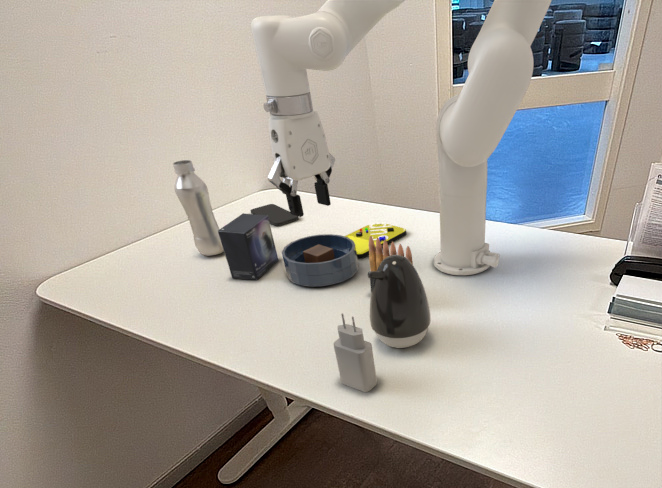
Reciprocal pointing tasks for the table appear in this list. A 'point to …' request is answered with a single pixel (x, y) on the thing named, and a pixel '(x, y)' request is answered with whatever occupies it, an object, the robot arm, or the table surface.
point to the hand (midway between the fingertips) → (311, 208)
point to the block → (318, 254)
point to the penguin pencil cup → (398, 303)
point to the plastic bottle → (197, 208)
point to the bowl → (322, 271)
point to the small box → (248, 246)
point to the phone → (275, 214)
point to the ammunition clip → (383, 254)
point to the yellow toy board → (375, 236)
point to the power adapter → (354, 358)
